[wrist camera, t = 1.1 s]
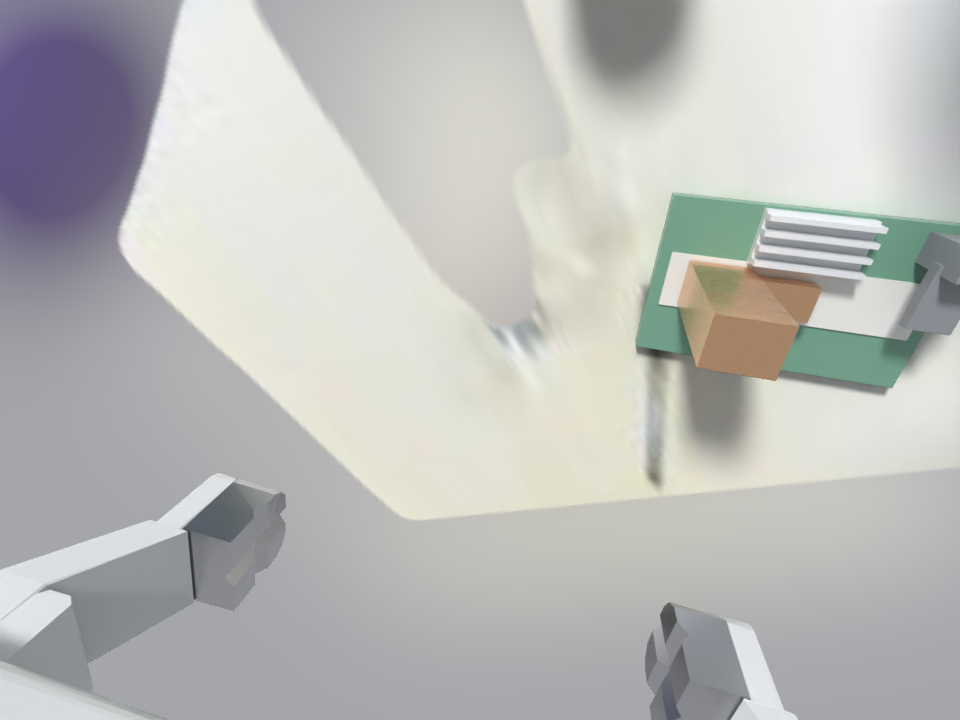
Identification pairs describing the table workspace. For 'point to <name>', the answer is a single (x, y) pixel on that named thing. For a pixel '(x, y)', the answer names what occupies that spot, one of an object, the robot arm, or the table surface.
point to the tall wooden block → (742, 317)
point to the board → (817, 279)
